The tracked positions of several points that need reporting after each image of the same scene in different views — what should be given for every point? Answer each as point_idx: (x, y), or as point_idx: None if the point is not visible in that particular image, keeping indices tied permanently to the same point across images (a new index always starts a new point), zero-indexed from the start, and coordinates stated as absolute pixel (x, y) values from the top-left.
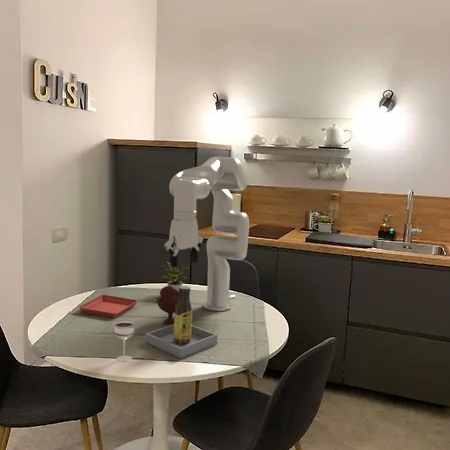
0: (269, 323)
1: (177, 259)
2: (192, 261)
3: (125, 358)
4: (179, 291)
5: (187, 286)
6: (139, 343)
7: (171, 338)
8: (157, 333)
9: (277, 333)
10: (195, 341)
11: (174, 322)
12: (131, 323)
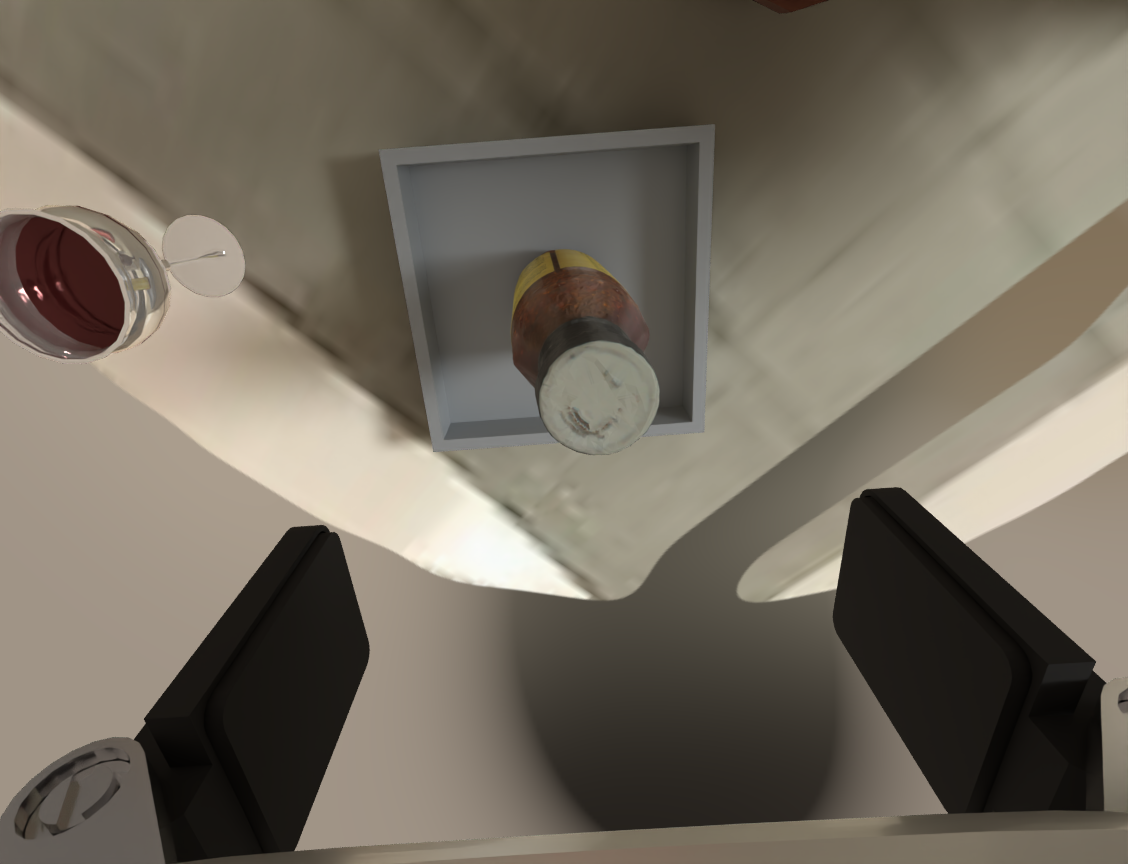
0: (1114, 391)
1: (315, 788)
2: (845, 554)
3: (201, 275)
4: (536, 381)
5: (650, 390)
6: (362, 132)
7: (543, 221)
8: (473, 160)
9: (997, 498)
10: None
11: (516, 296)
12: (127, 280)
